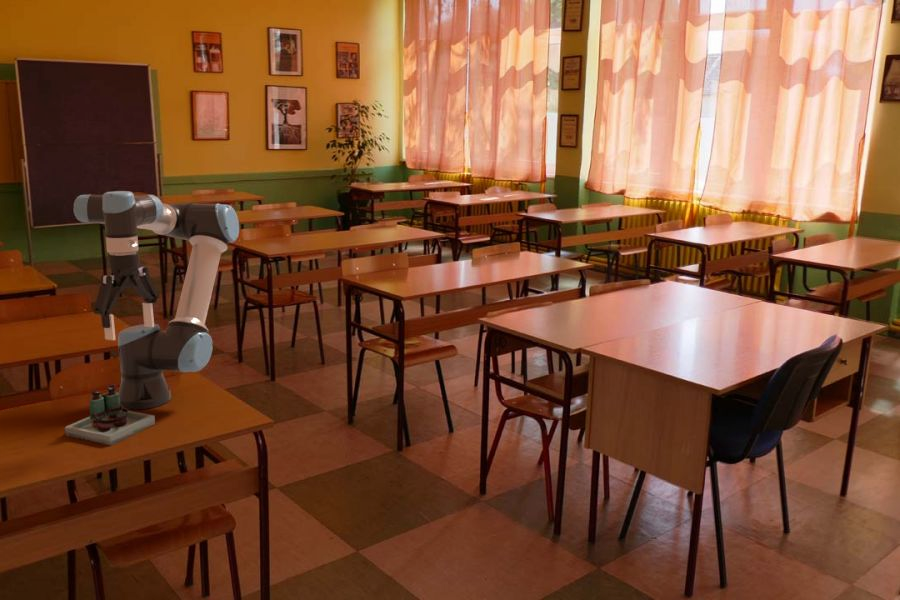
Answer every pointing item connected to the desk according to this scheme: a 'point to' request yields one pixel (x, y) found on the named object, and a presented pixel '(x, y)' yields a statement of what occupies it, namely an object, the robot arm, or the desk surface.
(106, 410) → the binoculars
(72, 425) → the tray
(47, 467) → the desk surface
